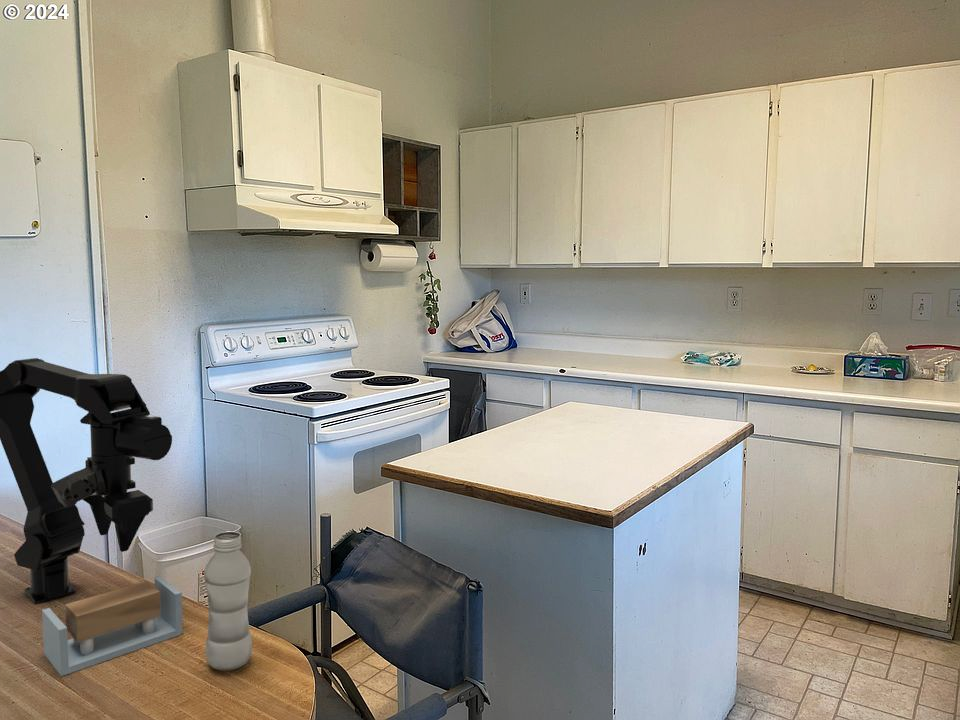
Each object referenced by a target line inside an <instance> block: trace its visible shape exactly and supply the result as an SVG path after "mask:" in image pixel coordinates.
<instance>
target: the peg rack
mask: <svg viewBox="0 0 960 720" xmlns="http://www.w3.org/2000/svg"><path fill="white" fill-rule="evenodd" d="M154 587H155V588H156V589H157V590H159V591H160V613H161V616H158V617H155V618H152V619H149V620H145V621H142V622H139V623H136V624H133V625H130V626H127V627H124V628H121V629H118V630H114V631H111V632H108V633H105V634H102V635H99V636H96V637H93V638H90V639H86V640H83V641H80V642H77V641H76V640H75V639H74V638H73V637H72V638H70V639H68V631H67V627H66V624H65V623H63V622H62V619H61V620H60V618H59V617H58V616H57V614H55V612H54V611H53V610H52V609H51V608H50V607H48V608H47V607H46V608H45V609H42V610H41V617H42V618H41V620H42V643H43V655H44V656H45V657H46V659H47V660H48V662H49V663H51V665H52V666H53V668H54V669H55V671H56V672H57V673H58V675H59V676H61V677H63V676H66V675H69V674H72V673H75V672H77V671H79V670H80V671H81V670H83V669H84V670H85V669H86V668H89V667H92V666H94V665H95V666H96V665H97V664H100V663H104V662H106V661H109V660H112V659H115V658H119V657H120V656H123V655H126V654H129V653H131V652H135V651H138V650H141V649H143V648H146V647H149V646H152V645H155V644H158V643H160V642H164V641H167V640H169V639H172V638H175V637H178V636H181V635H183V634H184V633H183V601H182V600H183V599H182V598H183V594H182V593H183V592H182V591H181V590H179V589H178V588H177V587H175V586H174V585H173V584H171V583H170V582H169V581H168V580H166V579H165V578H164V577H162V576H160V575H159V576H157V577H154Z"/></svg>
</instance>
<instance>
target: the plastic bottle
mask: <svg viewBox="0 0 960 720" xmlns="http://www.w3.org/2000/svg"><path fill="white" fill-rule="evenodd" d="M213 540H214V541H213V547H212V548H213V551H215V552H214V553H213V554H212V556H211V557H210V558H209V560H208V561H207V563H206V564H205V568H204V571H203V578H204V583H205V589H206V594H207V603H208V629H207V637H206V641H205V648H204V649H205V650H204V653H205V657H206V661H207V663H208V664H209V665H210V666H211V668H213V670H217V671H227V672H228V671H233V670H237V669H239V668H241V667H243V666H245V665H246V664H247V663H248V662H249V660H250V659H251V656H252V651H253V639H252V634H251V631H250V625H249V614H248V601H249V600H248V599H249V590H250V583H251V571H252V567H251V564H250V561H249V560H248V559H247V557H246V555H244V553H243V552H242V551H241V548H242V547H243V546H242V545H243V544H242V534H241V533H240V532H237V531H231V530H230V531H221V532H219V533H216V534H215V535H214V536H213Z"/></svg>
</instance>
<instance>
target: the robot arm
mask: <svg viewBox="0 0 960 720" xmlns="http://www.w3.org/2000/svg"><path fill="white" fill-rule="evenodd" d="M132 381H133V379H132V378H131V377H130V376H129V375H126V374H123V373H122V374H120V373H119V374H118V373H95V374H93V373H87V372H83V371H80V370H77V369H72V368H69V367H65V366H62V365H59V364H55V363H50V362H47V361H45V360H44V359H41V358H38V357H31V358H25V359H24V358H23V359H16V360H14V361H12V362H10V363H8V364H7V366H6V367H4V369H2V370H0V443H1V445H2V448H3V450H4V453H5V456H6V458H7V462H8V464H9V466H10V469H11V471H12V474H13V476H14V480H15V482H16V484H17V487H18V489H19V492H20V495H21V497H22V499H23V502H24V506H25V508H26V511H27V514H26V518H25V520H24V525H23V534H24V537H25V538H24V539H25V541H24V542H23V543H22V544H21V545H20V547H19V548H18V549H17V550H16V551H15V553H14V554H13V555H14V559H15V562H16V565H17V567H20V568H25V569H29V574H30V586H29V587H25V588H24V593H25V594H26V595H27V596H28V597H29V599H30V600H31V601H32V602H33V603H34V604H39V603H43V602H46V601H49V600H53V599H58V598H62V597H65V596H68V595H72V594H75V593H76V592H77V589H76V588H75V587H74V586H73V585H72V584H71V582H69V560H68V559H69V557H71V556H73V555H75V554H78V553H80V550H81V547H82V543H83V540H84V537H85V532H86V531H85V527H84V526H85V522H84V521H83V519H82V517H81V516H80V511H79V508H78V506H77V505H76V504H77V503H78V502H80V501H84V502H86V503H87V504H88V505H89V507H90V509H91V512H92V516H93V519H94V521H95V524H96V528H97V531H98V532H99V535H100V536H105V535H108V534H109V531H110V527H111V524H112V523H114V528H115V532H116V538H117V542H118V543H117V544H118V547H119V551H120V552H121V553H123V552H127V551H128V550H129V549H130V547H131V545H132V543H133V540H134V539H135V536H136V535H137V533H138V531H139V529H140V527H141V524H143V521H144V520H145V518H146V517H147V516H148V515H150V513H151V512H153V510H154V499H153V498H152V497H150V496H149V495H148V494H146V493H144V492H142V491H141V490H139V489H137V490H132V489H136V487H137V486H136V481H135V480H133V479H132V473H131V471H132V469H131V468H132V465H135V464H136V458H139V459H145V460H150V461H159V460H162V459H163V458H165V457H166V456H167V455H168V453H169V451H170V450H171V448H172V443H173V435H172V434H171V431H170V429H169V428H168V427H167V426H166V425H164V424H163V421H162V417H161V416H150V414H151V413H150V410H149V408H148V406H147V404H146V403H145V401H144V400H143V398H142V396H141V395H140V392H139V391H138V390H137V388H136V386H135V384H134V383H133V382H132ZM40 390H44V391H45V392H46V391H47V392H50V393H53V394H57V395H61V396H63V397H67V398H70V399H72V400H74V402H75V403H76V404H75V405H76V406H77V407H78V408H80V409H82V410H84V411H85V412H87V413H86V414H85V415H84V416H83V417H82V418H80V420H79V422H80V423H81V424H84V425H90V426H89V427H90V428H89V429H90V430H89V431H90V451H91V452H90V455H91V456H90V457H87V459H85V467H84V468H82V469H80V470H76V471H74V472H72V473H69V474H68V475H66V476H64V477H62V478H60V479H58V480H56V481H53V480H52V477H51V474H50V472H49V469H48V466H47V464H46V461H45V459H44V456H43V453H42V451H41V449H40V446H39V443H38V441H37V438H36V435H35V433H34V430H33V427H32V425H31V421H32V418H33V414H34V410H35V403H34V400H33V398H34V397H35V396H36V395H37V394H38V393H39V392H40ZM128 490H129V491H128ZM130 490H131V491H130Z"/></svg>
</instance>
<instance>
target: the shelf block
mask: <svg viewBox="0 0 960 720" xmlns="http://www.w3.org/2000/svg"><path fill="white" fill-rule="evenodd" d="M64 605H65V608H64V609H65V610H64V611H65V626H66V627H67V633H69V635H70V636H71V637H72V639H73V638H74V639H75V640H76V641H77V642H80V641H83V640H86V639H90V638H93V637H96V636H99V635H102V634H105V633H108V632H111V631H114V630H118V629H121V628H124V627H127V626H130V625H133V624H136V623H139V622H142V621H145V620H149V619H152V618H155V617H158V616H161V613H160V591H159V590H157V589H156V588H155V585H153V584H151V583H150V582H149V581H148V580H146V581H142V582H140V583H136V584H132V585H130V586H126V587H122V588H118V589H115V590H111V591H108V592H104V593H101V594H98V595H94V596H90V597H87V598H83V599H80V600H77V601H73V602H69V603H65V604H64Z"/></svg>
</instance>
